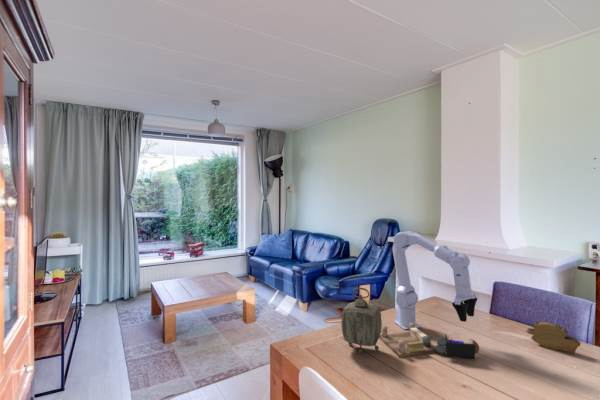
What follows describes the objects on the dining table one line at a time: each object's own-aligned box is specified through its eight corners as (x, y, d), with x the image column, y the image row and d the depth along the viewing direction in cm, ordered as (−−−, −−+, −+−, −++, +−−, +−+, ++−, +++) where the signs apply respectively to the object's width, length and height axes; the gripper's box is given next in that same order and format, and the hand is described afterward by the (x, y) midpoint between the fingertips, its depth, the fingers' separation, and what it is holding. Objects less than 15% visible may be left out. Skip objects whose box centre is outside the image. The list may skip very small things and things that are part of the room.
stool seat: (378, 338, 136) (378, 325, 136) (414, 333, 139) (414, 321, 139) (399, 357, 119) (398, 343, 119) (439, 351, 122) (438, 338, 122)
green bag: (382, 348, 126) (380, 286, 126) (377, 359, 118) (376, 293, 118) (347, 342, 132) (345, 283, 132) (340, 352, 124) (339, 289, 124)
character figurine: (435, 350, 125) (477, 356, 120) (436, 357, 118) (482, 364, 113) (434, 330, 125) (477, 334, 120) (436, 336, 118) (481, 341, 113)
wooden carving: (580, 352, 119) (580, 326, 119) (580, 357, 116) (579, 330, 116) (527, 340, 130) (526, 316, 130) (525, 344, 127) (525, 319, 127)
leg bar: (432, 346, 124) (431, 338, 124) (425, 347, 124) (425, 339, 124) (415, 334, 135) (415, 326, 135) (409, 335, 135) (409, 327, 135)
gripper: (465, 289, 121) (470, 325, 120) (479, 281, 130) (484, 315, 129) (447, 287, 126) (451, 322, 125) (462, 280, 135) (466, 312, 134)
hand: (467, 318), depth 127 cm, fingers open, 7 cm apart
